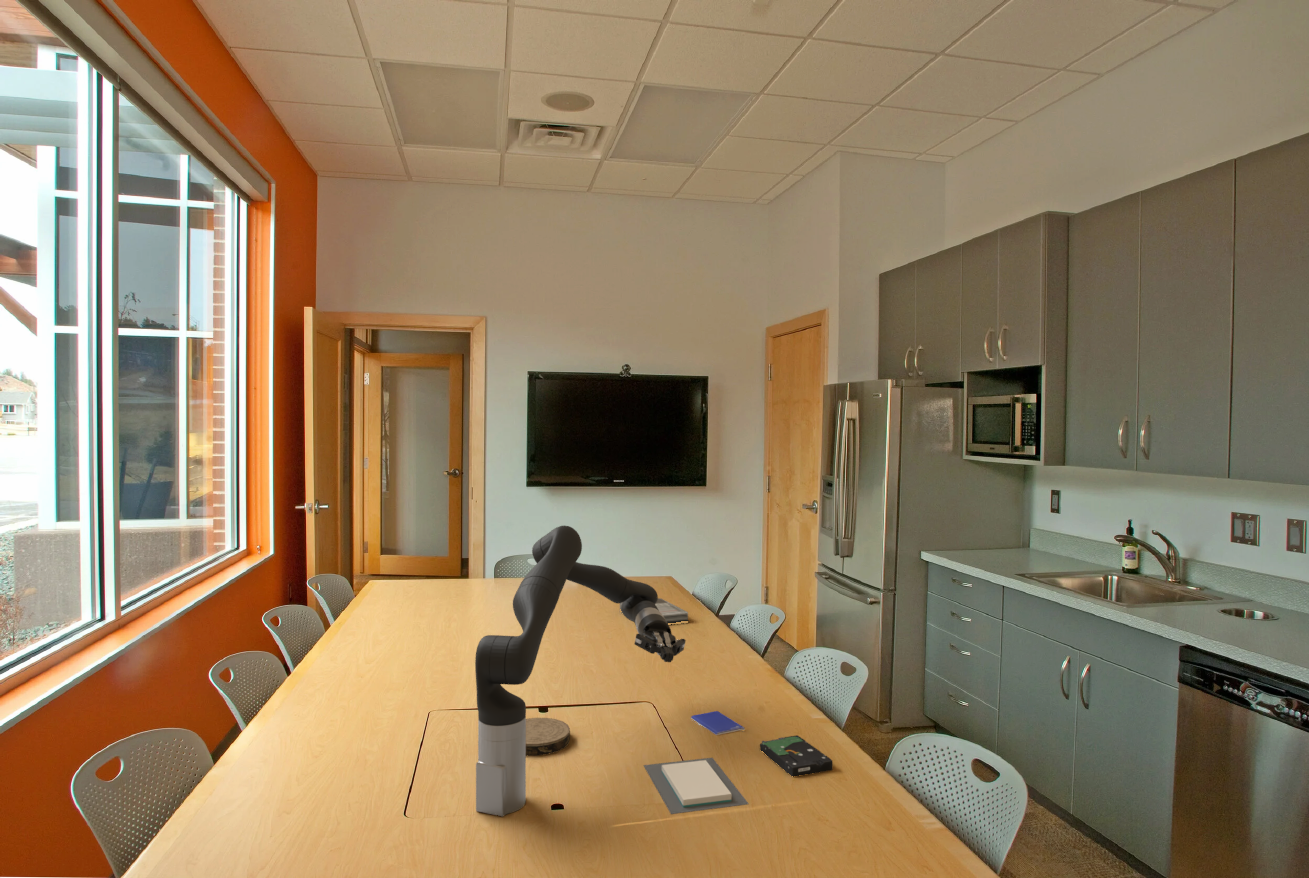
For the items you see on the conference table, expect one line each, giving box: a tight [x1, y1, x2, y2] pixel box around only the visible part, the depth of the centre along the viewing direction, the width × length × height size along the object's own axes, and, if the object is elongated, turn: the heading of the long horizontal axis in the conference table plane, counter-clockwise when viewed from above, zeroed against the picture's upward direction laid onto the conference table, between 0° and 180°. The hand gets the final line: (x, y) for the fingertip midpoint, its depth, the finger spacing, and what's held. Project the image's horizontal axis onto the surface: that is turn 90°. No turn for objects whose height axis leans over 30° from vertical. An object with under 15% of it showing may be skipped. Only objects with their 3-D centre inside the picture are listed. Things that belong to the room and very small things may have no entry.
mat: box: [643, 757, 749, 815], centre depth 161 cm, size 22×16×1 cm
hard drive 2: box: [690, 710, 746, 736], centre depth 194 cm, size 2×8×12 cm
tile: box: [662, 760, 732, 807], centre depth 160 cm, size 2×10×16 cm
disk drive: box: [759, 734, 834, 778], centre depth 174 cm, size 10×3×15 cm
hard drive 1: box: [619, 597, 690, 623], centre depth 303 cm, size 18×27×4 cm
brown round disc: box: [526, 717, 571, 757], centre depth 183 cm, size 16×16×3 cm
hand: (668, 658), depth 176 cm, fingers closed
